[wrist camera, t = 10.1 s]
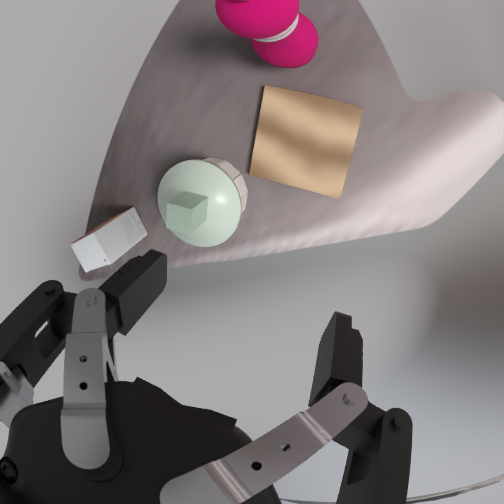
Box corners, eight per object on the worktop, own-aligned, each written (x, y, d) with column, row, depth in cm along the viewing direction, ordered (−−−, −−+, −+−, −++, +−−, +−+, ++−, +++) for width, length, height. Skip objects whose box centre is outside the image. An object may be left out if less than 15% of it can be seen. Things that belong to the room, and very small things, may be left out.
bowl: (185, 152, 38) (167, 159, 34) (252, 166, 37) (240, 174, 33) (180, 215, 44) (164, 228, 39) (241, 232, 42) (229, 247, 38)
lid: (163, 152, 34) (138, 161, 29) (248, 169, 32) (233, 180, 28) (159, 231, 40) (139, 248, 35) (235, 254, 38) (220, 275, 34)
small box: (135, 205, 45) (93, 231, 36) (149, 234, 47) (111, 264, 38) (108, 219, 49) (69, 244, 40) (121, 244, 51) (85, 273, 42)
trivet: (266, 86, 31) (265, 85, 30) (362, 108, 29) (363, 108, 28) (251, 173, 37) (249, 174, 37) (339, 196, 36) (339, 199, 35)
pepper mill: (265, 74, 30) (188, 43, 14) (259, 24, 27) (182, -39, 10) (323, 70, 28) (307, 24, 12) (316, 19, 25) (290, -63, 8)
